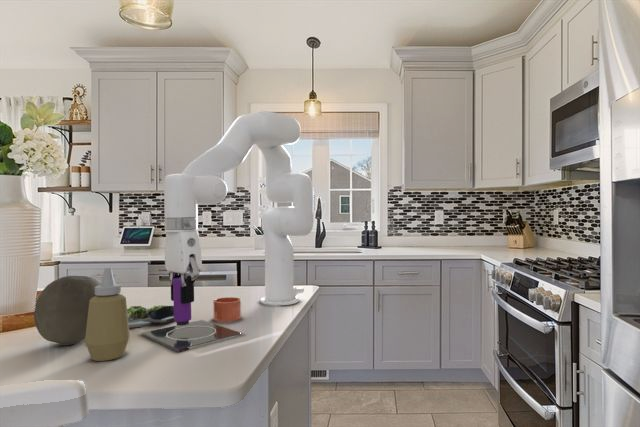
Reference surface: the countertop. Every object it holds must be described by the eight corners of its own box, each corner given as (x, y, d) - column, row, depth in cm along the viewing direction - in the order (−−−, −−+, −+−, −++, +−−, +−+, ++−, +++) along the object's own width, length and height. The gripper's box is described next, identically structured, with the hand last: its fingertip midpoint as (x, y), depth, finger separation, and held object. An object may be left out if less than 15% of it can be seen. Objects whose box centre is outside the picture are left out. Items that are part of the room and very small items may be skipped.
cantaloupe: (89, 351, 84) (89, 280, 84) (18, 353, 83) (18, 281, 83) (118, 332, 98) (118, 271, 98) (58, 334, 97) (58, 272, 97)
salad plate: (91, 333, 97) (91, 314, 97) (111, 316, 114) (111, 299, 115) (175, 327, 102) (175, 309, 102) (182, 311, 119) (182, 296, 119)
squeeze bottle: (138, 352, 83) (138, 266, 83) (106, 366, 76) (106, 271, 76) (109, 348, 86) (109, 264, 86) (74, 361, 78) (75, 269, 78)
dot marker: (186, 320, 99) (185, 276, 99) (194, 323, 96) (193, 278, 96) (171, 324, 96) (170, 278, 96) (179, 327, 93) (178, 280, 93)
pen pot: (230, 315, 115) (230, 296, 115) (246, 319, 110) (246, 299, 110) (208, 320, 109) (208, 300, 109) (223, 325, 104) (223, 303, 104)
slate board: (201, 322, 107) (201, 319, 107) (241, 335, 95) (241, 332, 95) (141, 335, 96) (141, 332, 96) (178, 352, 83) (178, 348, 83)
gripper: (214, 225, 93) (215, 303, 93) (179, 224, 105) (180, 294, 105) (184, 226, 88) (185, 309, 88) (150, 225, 99) (151, 299, 99)
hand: (182, 300), depth 96 cm, fingers closed on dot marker, 4 cm apart
